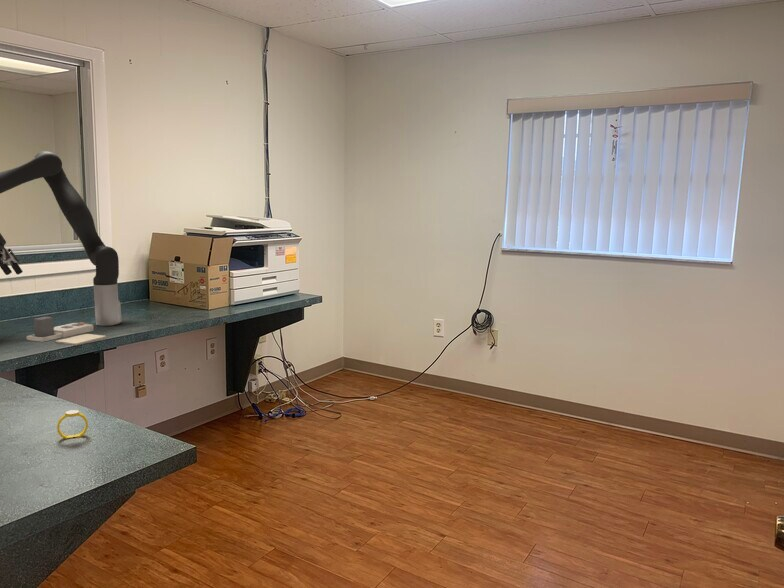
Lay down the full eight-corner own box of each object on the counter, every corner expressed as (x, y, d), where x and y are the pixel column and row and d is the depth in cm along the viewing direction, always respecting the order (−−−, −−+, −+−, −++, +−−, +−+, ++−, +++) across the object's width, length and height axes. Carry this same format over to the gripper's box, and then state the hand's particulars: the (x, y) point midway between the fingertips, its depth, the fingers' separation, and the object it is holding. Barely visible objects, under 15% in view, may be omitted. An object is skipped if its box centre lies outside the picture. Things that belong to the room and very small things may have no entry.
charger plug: (46, 337, 230) (45, 316, 229) (54, 337, 229) (53, 317, 228) (35, 339, 226) (33, 318, 224) (42, 340, 224) (41, 319, 223)
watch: (87, 434, 136) (87, 408, 135) (87, 438, 133) (88, 412, 133) (57, 436, 133) (57, 410, 132) (57, 441, 131) (57, 414, 130)
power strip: (75, 328, 246) (74, 321, 245) (93, 330, 242) (93, 323, 242) (25, 339, 225) (24, 331, 225) (44, 342, 222) (43, 334, 221)
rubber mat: (86, 335, 234) (86, 333, 234) (106, 337, 231) (106, 335, 231) (55, 342, 221) (55, 340, 221) (75, 345, 218) (75, 343, 218)
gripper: (-12, 230, 216) (14, 268, 218) (7, 232, 230) (32, 268, 232) (-31, 241, 215) (-4, 279, 217) (-11, 242, 229) (14, 278, 231)
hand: (14, 273), depth 224 cm, fingers open, 8 cm apart
